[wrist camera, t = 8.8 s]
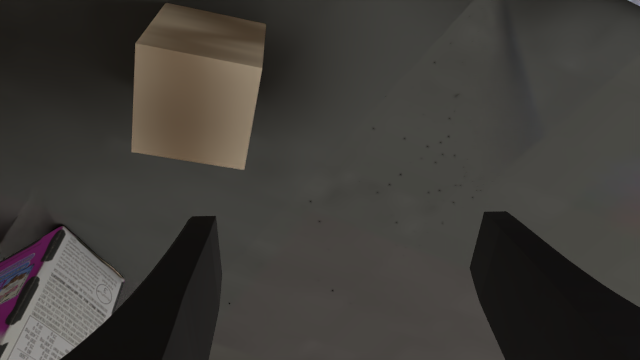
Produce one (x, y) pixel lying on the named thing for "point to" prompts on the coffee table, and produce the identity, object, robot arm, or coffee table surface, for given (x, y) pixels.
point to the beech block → (197, 86)
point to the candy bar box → (53, 297)
